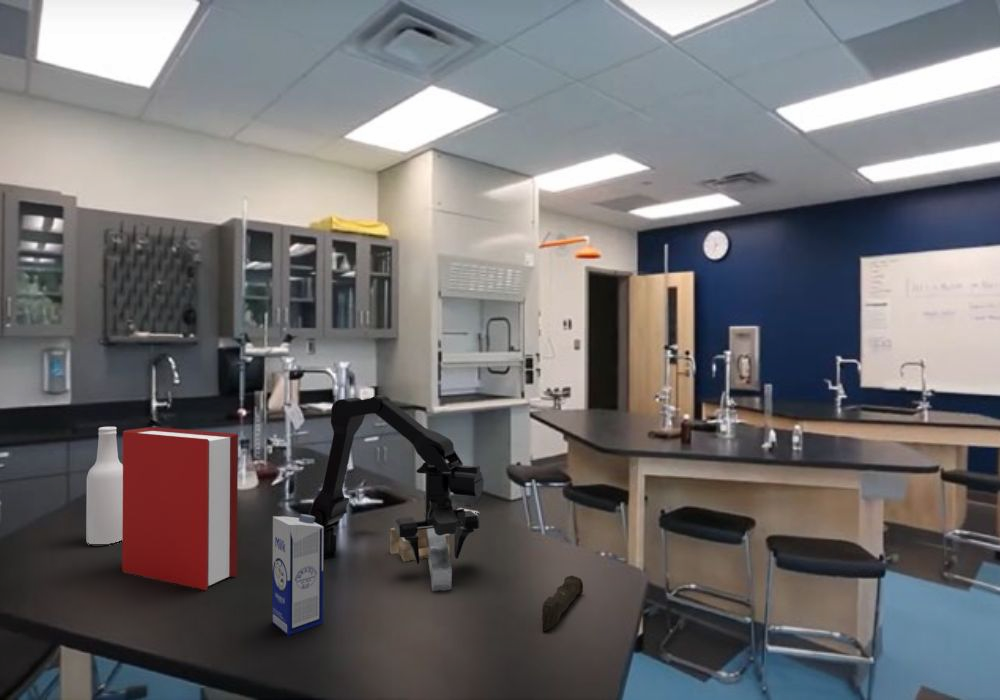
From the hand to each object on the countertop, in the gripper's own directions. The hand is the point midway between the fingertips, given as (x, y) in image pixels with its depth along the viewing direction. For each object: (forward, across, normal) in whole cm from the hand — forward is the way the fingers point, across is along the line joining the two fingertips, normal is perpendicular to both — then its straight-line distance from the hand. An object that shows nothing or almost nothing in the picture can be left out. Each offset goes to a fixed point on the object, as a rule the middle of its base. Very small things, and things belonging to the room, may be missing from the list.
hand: (437, 560), depth 131 cm
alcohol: (+3, -75, +51) cm, 91 cm away
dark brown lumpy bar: (+3, +17, -28) cm, 33 cm away
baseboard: (+3, +10, +35) cm, 36 cm away
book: (+3, -55, +20) cm, 59 cm away
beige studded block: (+3, 0, +13) cm, 13 cm away
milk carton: (+3, -31, -14) cm, 34 cm away
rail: (0, 0, 0) cm, 0 cm away
